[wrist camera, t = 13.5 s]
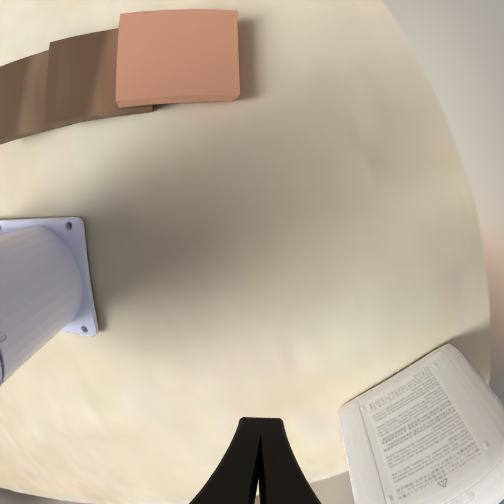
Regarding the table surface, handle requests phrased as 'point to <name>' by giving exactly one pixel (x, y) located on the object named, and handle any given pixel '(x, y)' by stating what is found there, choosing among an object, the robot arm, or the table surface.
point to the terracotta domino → (177, 57)
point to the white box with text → (426, 436)
